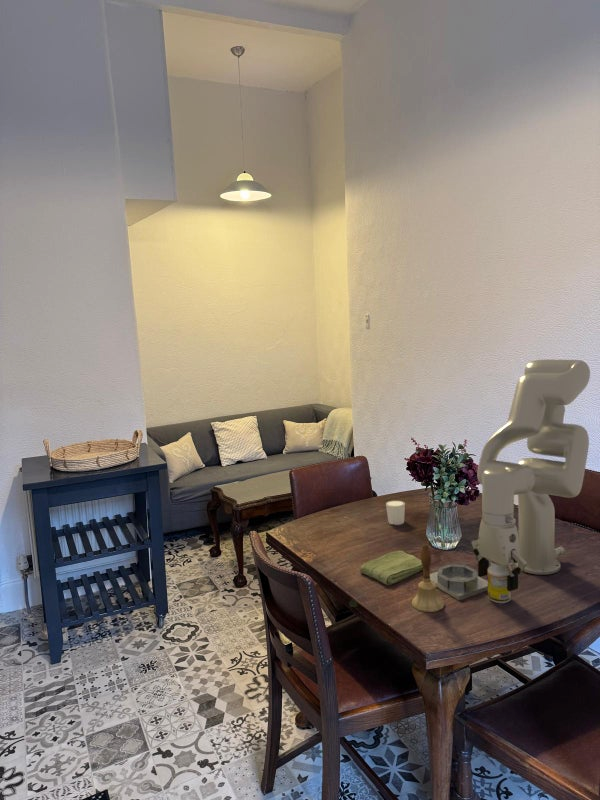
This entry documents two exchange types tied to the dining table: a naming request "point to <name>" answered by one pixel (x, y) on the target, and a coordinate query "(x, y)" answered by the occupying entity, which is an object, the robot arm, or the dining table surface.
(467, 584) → the grey octagonal holder base
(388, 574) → the washcloth
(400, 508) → the white tapered cup
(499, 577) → the supplement bottle
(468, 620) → the dining table surface
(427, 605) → the hand bell
